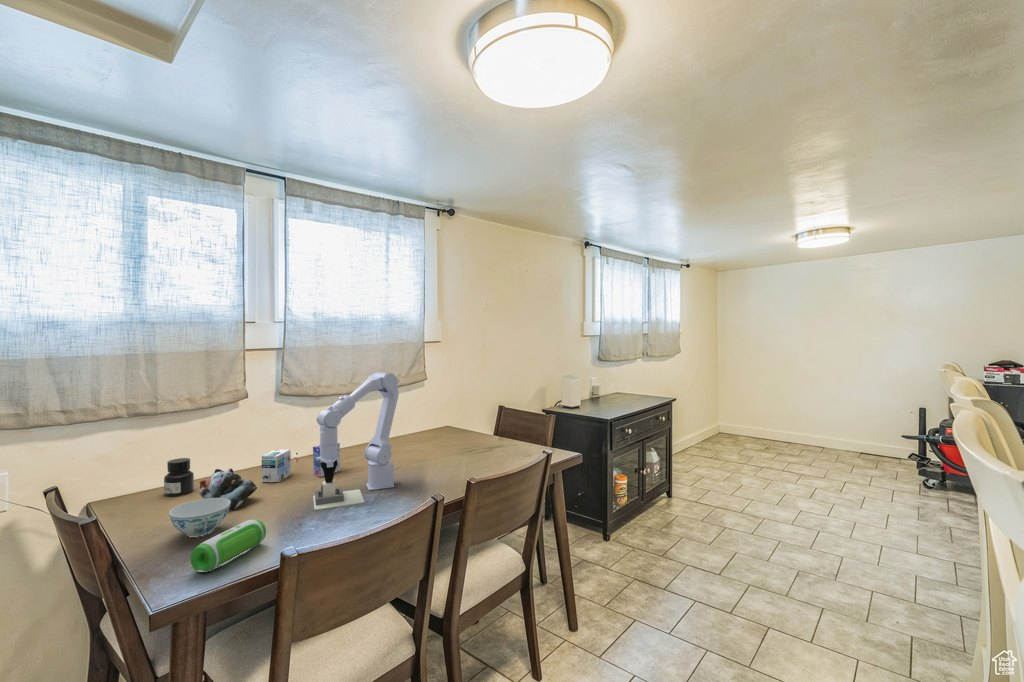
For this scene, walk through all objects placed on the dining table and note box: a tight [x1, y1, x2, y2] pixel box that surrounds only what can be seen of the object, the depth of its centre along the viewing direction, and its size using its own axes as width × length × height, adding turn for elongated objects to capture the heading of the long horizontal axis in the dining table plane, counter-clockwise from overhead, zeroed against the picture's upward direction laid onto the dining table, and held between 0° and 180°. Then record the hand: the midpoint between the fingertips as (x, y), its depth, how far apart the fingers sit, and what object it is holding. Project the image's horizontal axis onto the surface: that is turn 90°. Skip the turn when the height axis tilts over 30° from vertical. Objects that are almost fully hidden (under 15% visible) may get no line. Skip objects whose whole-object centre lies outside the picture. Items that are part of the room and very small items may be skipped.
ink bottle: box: [163, 457, 195, 497], centre depth 169 cm, size 10×9×12 cm
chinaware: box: [168, 498, 230, 537], centre depth 135 cm, size 15×15×8 cm
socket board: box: [312, 487, 365, 512], centre depth 161 cm, size 16×14×2 cm
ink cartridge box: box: [312, 442, 341, 478], centre depth 192 cm, size 10×6×14 cm, turn 148°
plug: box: [320, 479, 336, 498], centre depth 161 cm, size 5×4×6 cm
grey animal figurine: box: [198, 468, 258, 511], centre depth 156 cm, size 15×12×14 cm
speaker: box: [189, 518, 267, 571], centre depth 120 cm, size 18×7×8 cm, turn 165°
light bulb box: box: [261, 448, 292, 483], centre depth 185 cm, size 11×7×11 cm, turn 179°
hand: (329, 482), depth 161 cm, fingers closed, pressing on plug
